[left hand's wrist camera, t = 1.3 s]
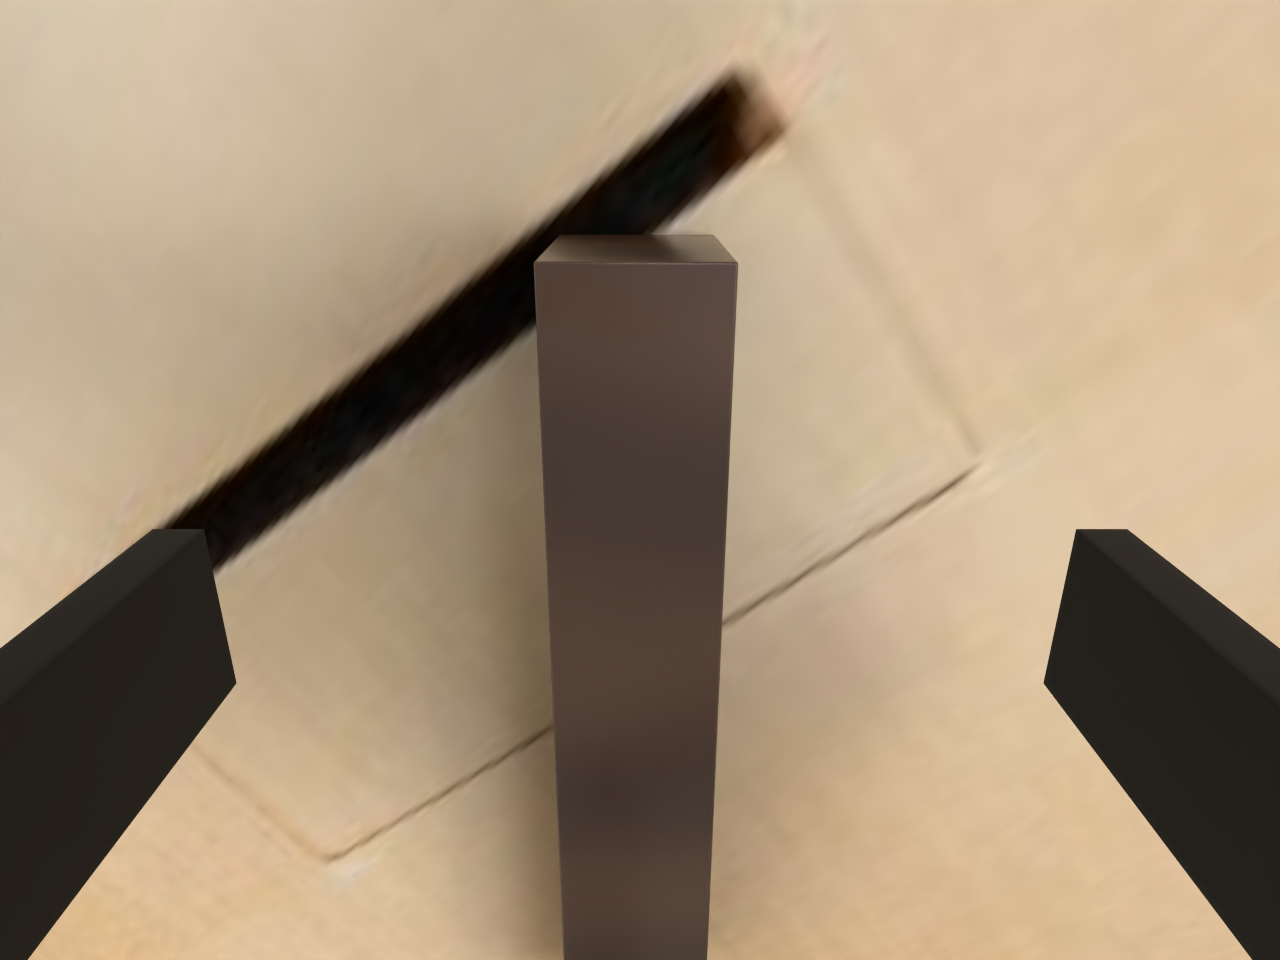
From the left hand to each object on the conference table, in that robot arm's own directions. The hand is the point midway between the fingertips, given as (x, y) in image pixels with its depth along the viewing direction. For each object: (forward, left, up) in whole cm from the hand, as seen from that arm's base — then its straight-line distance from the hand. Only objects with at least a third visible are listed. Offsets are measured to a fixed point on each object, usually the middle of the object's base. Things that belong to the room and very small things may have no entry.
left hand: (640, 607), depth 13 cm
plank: (+12, 0, -17) cm, 20 cm away
